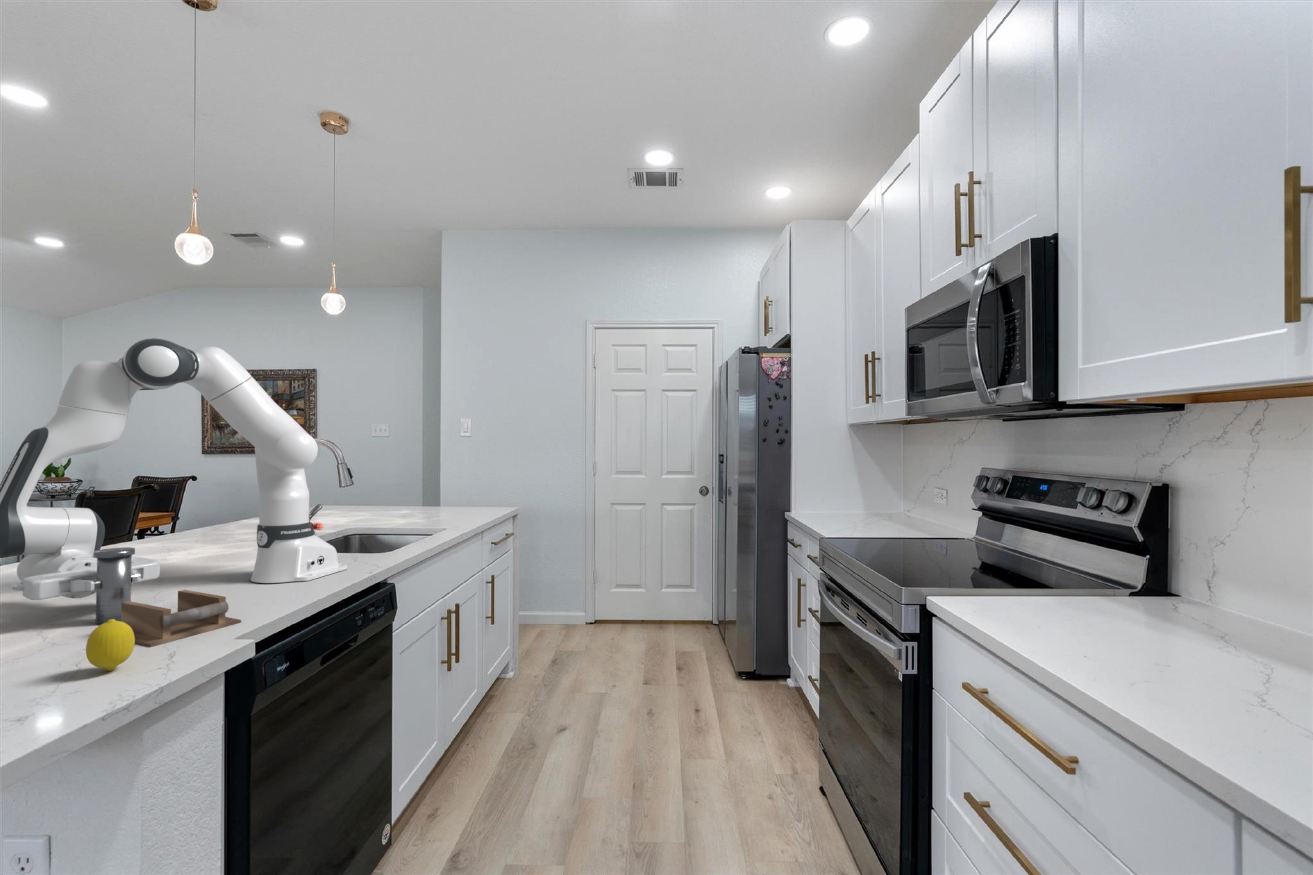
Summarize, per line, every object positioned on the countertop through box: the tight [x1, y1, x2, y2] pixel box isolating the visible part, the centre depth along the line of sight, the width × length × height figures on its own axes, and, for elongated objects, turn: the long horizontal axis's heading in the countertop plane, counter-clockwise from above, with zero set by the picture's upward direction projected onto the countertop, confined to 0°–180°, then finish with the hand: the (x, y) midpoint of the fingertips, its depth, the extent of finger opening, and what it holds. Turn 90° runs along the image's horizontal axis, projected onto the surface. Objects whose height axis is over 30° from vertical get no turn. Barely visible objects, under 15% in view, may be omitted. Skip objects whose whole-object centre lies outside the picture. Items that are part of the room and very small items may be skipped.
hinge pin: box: [93, 546, 136, 626], centre depth 114 cm, size 6×6×14 cm
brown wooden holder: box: [121, 589, 242, 648], centre depth 110 cm, size 15×15×6 cm
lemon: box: [85, 619, 136, 672], centre depth 90 cm, size 6×6×8 cm
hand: (116, 582), depth 114 cm, fingers closed on hinge pin, 5 cm apart
